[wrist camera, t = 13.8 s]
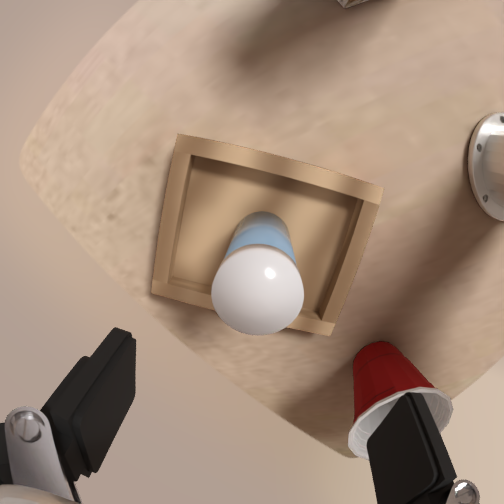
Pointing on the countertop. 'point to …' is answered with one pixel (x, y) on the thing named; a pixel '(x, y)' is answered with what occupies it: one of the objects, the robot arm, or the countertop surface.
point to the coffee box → (350, 2)
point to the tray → (253, 200)
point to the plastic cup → (388, 392)
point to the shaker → (258, 277)
